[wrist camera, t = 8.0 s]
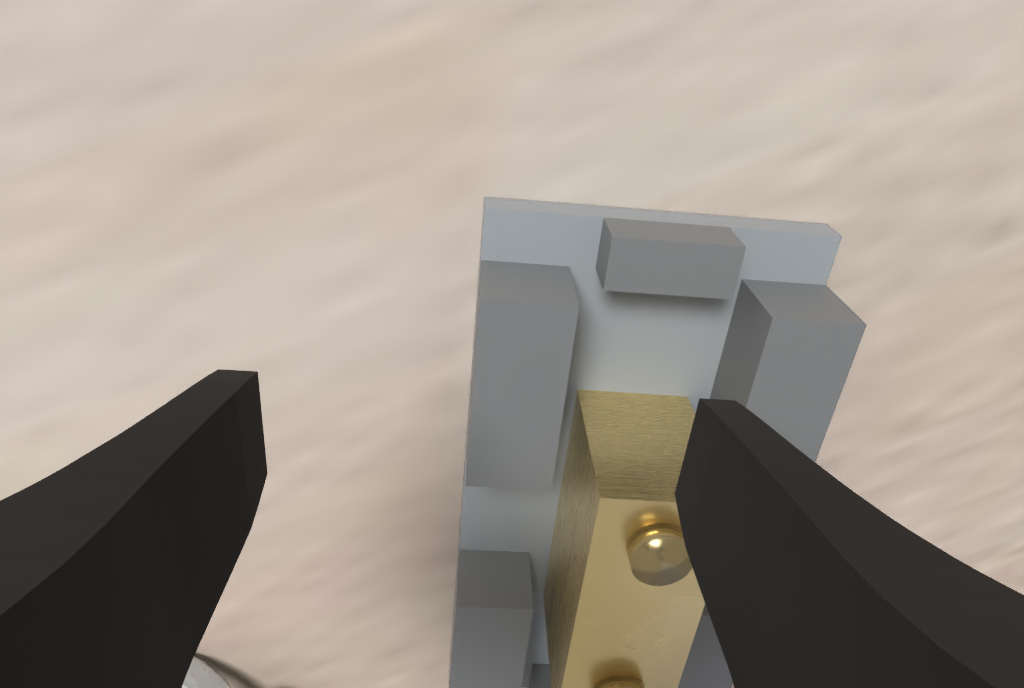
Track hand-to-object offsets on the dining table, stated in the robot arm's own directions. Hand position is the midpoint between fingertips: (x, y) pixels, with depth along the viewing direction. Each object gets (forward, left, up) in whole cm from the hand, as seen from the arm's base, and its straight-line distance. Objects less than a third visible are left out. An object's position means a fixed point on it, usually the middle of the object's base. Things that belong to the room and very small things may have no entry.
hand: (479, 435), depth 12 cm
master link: (-5, +9, -9) cm, 14 cm away
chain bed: (-5, +9, -10) cm, 14 cm away
